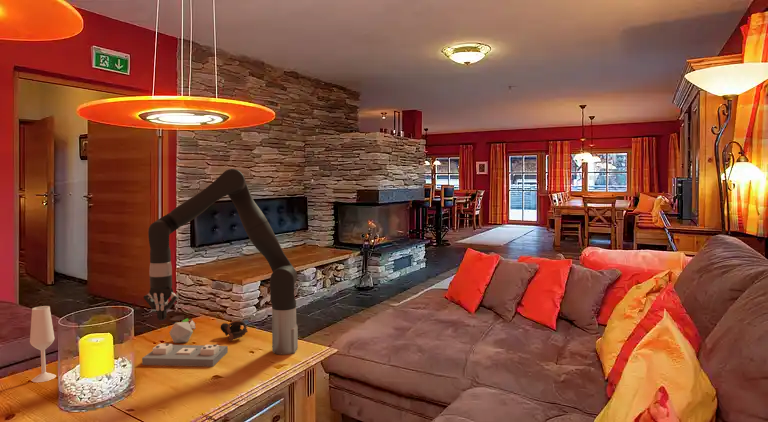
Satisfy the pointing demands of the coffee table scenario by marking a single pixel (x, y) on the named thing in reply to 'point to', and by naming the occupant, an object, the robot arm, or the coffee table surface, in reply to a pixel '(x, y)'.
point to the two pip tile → (162, 349)
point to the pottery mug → (234, 329)
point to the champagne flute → (42, 337)
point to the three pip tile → (210, 350)
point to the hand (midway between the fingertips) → (161, 319)
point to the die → (181, 332)
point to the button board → (184, 357)
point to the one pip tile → (186, 351)
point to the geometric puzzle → (190, 323)
